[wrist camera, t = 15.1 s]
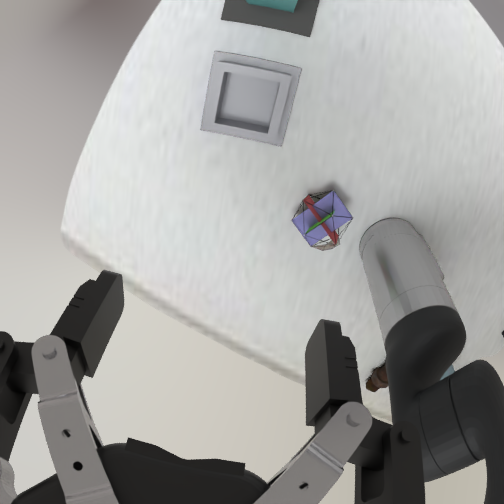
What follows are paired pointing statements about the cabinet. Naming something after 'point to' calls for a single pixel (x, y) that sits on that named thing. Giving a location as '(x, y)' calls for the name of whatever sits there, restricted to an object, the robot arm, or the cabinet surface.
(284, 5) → the teal block
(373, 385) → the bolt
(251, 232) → the cabinet surface
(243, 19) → the mat
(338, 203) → the geometric puzzle
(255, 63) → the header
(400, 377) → the robot arm
